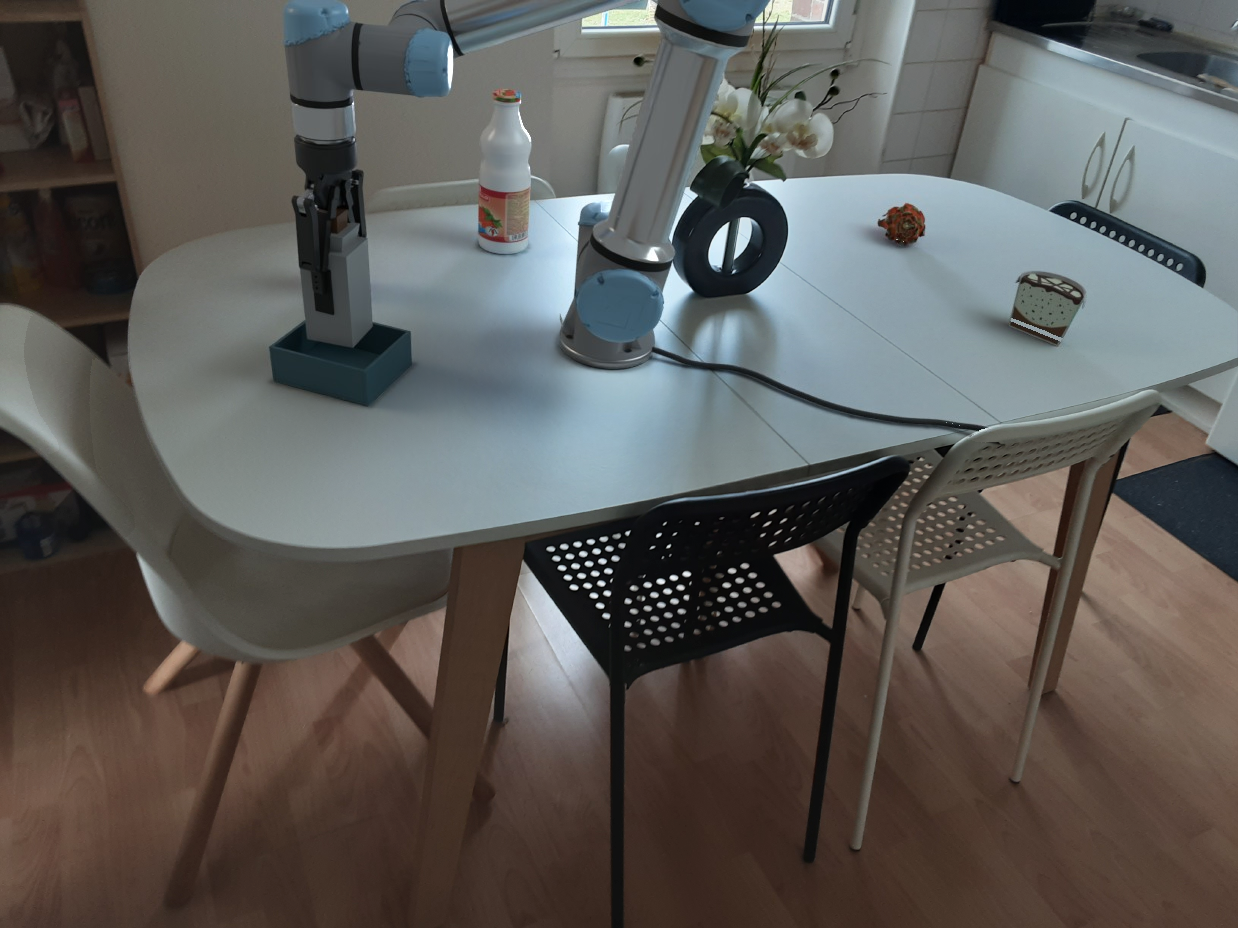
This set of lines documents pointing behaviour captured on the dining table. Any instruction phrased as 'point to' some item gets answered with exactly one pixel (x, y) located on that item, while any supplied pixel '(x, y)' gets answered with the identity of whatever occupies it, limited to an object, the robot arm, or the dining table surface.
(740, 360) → the dining table surface
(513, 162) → the fruit juice
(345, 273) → the perfume bottle
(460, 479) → the dining table surface
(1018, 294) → the food container
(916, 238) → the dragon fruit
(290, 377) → the case
